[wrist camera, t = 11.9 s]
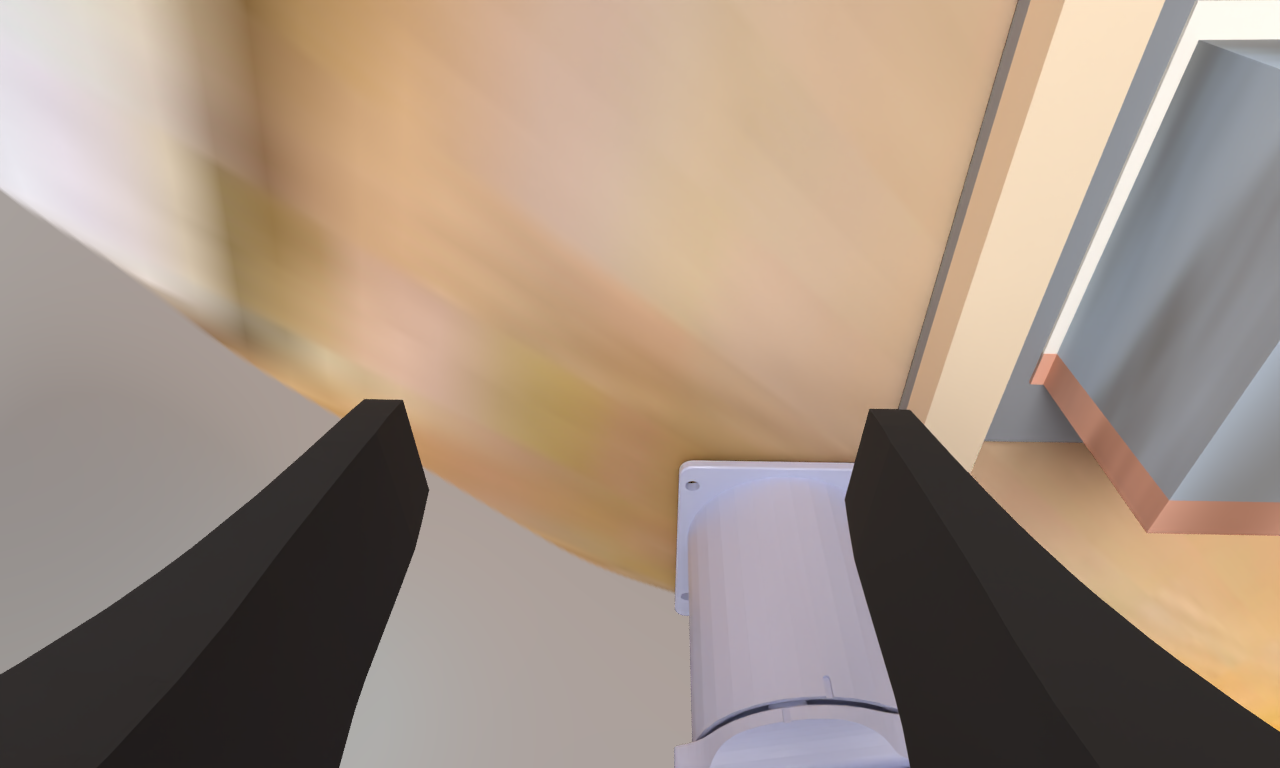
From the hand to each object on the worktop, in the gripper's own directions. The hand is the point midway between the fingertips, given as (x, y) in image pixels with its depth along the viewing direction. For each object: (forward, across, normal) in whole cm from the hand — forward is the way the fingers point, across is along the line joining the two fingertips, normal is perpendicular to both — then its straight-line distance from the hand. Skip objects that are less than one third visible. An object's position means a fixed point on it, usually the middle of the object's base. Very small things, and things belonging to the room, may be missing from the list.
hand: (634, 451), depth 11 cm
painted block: (+10, -15, +1) cm, 18 cm away
